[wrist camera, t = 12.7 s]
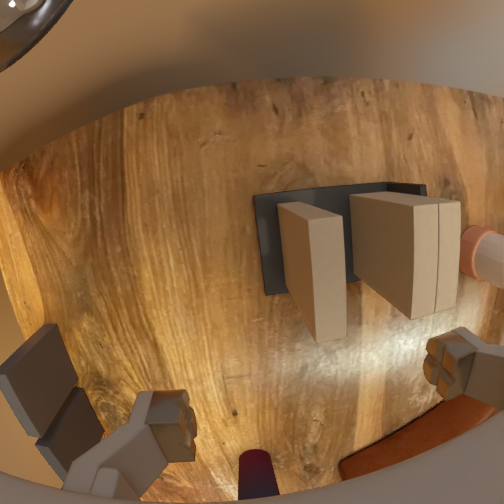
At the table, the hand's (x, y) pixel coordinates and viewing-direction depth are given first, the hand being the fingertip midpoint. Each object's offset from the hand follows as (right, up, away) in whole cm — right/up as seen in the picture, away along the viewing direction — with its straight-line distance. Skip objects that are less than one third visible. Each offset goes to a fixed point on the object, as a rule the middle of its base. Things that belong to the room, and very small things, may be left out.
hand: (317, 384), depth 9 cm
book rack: (+7, +6, +25) cm, 27 cm away
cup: (-2, -29, +33) cm, 44 cm away
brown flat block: (+2, +5, +24) cm, 25 cm away
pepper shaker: (+30, +4, +28) cm, 41 cm away
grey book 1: (-29, -10, +26) cm, 40 cm away
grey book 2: (-27, -20, +29) cm, 44 cm away
